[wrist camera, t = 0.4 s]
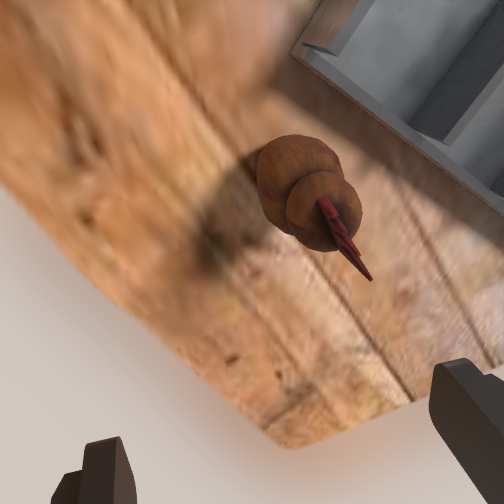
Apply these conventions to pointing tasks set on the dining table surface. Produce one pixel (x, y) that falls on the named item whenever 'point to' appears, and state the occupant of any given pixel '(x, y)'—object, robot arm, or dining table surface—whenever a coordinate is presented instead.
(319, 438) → the dining table surface
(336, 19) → the grey shelf
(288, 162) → the wooden figurine
